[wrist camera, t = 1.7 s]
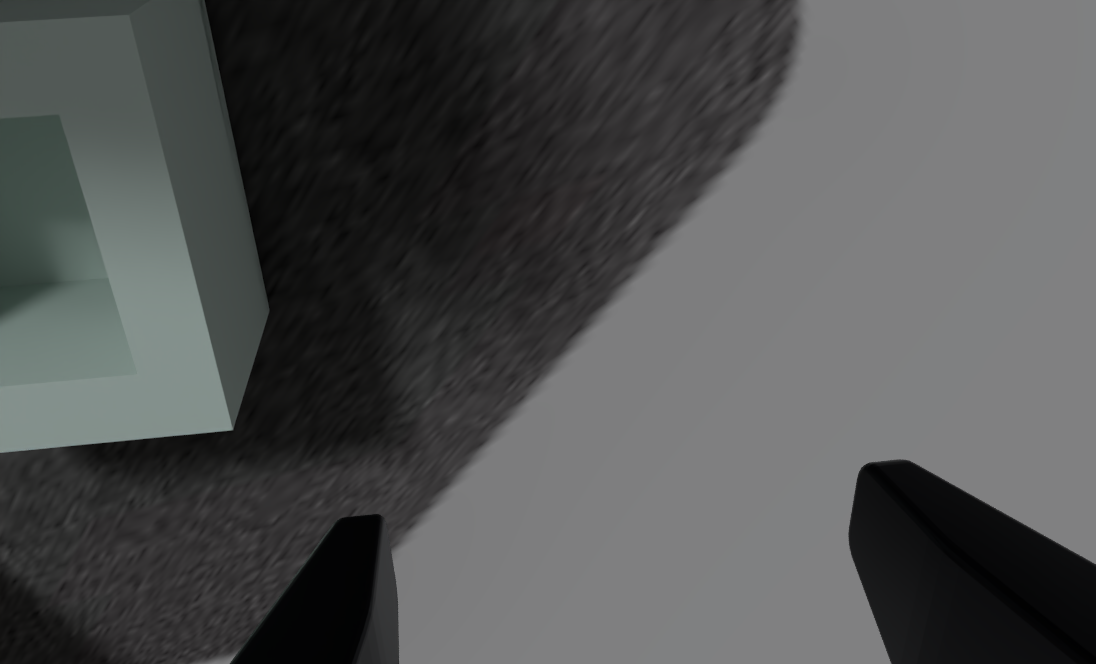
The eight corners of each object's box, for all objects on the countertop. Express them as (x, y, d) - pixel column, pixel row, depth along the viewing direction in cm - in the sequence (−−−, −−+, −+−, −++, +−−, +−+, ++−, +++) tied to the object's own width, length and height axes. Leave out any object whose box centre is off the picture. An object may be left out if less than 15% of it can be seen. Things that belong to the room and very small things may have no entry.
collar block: (-69, 339, 19) (-192, 471, 16) (-216, -10, 16) (-421, 46, 12) (269, 310, 20) (232, 430, 16) (197, -33, 17) (128, 15, 13)
